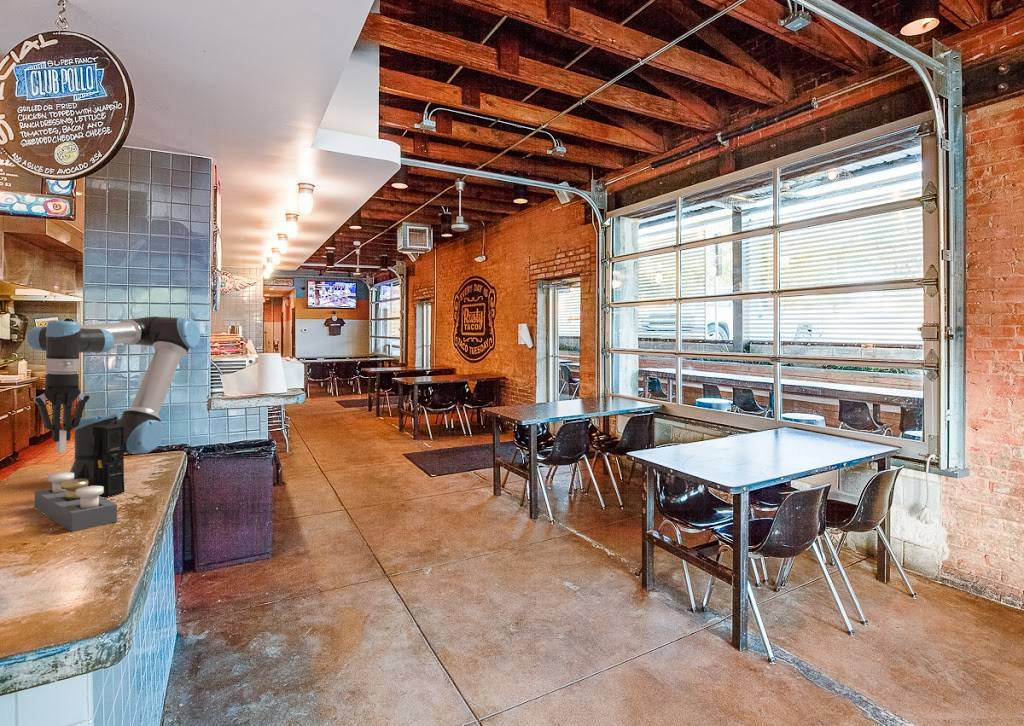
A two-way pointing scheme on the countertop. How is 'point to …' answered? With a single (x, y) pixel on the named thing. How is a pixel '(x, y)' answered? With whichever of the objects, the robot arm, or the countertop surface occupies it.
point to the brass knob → (73, 487)
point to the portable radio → (109, 458)
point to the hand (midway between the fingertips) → (61, 452)
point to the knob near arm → (59, 480)
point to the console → (74, 510)
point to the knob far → (89, 496)
